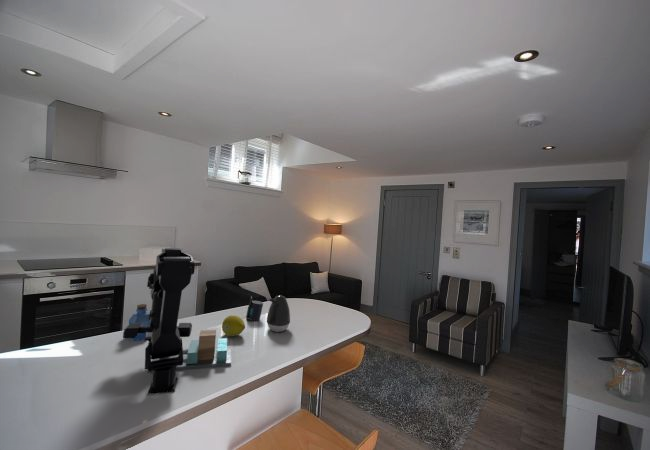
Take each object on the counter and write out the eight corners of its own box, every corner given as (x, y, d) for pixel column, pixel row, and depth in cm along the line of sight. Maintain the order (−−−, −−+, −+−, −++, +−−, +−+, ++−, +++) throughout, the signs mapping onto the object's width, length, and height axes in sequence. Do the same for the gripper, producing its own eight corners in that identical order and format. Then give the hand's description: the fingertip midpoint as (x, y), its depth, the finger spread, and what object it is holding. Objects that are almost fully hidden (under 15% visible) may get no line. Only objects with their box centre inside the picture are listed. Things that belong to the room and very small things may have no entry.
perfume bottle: (145, 332, 118) (147, 302, 118) (152, 336, 114) (153, 305, 114) (128, 336, 114) (129, 304, 113) (133, 341, 110) (135, 308, 109)
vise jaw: (158, 366, 91) (158, 354, 91) (164, 351, 101) (165, 341, 100) (197, 363, 95) (197, 352, 94) (199, 349, 104) (200, 339, 104)
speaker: (242, 320, 139) (246, 298, 139) (246, 316, 144) (249, 295, 145) (258, 323, 138) (262, 301, 138) (261, 319, 144) (265, 298, 144)
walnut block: (214, 359, 98) (215, 335, 98) (197, 360, 97) (199, 335, 97) (214, 352, 103) (216, 329, 103) (199, 353, 102) (200, 330, 101)
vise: (147, 372, 89) (148, 357, 89) (156, 354, 101) (157, 340, 101) (230, 365, 97) (231, 351, 97) (230, 349, 108) (231, 336, 108)
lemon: (216, 334, 121) (218, 314, 121) (233, 329, 127) (234, 311, 127) (231, 342, 114) (233, 321, 114) (248, 337, 120) (250, 317, 120)
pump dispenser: (261, 328, 131) (263, 294, 131) (281, 324, 138) (283, 291, 138) (273, 336, 123) (276, 299, 123) (294, 331, 130) (296, 296, 130)
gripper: (195, 301, 106) (191, 345, 106) (135, 300, 100) (130, 347, 100) (192, 311, 95) (187, 359, 95) (125, 311, 89) (119, 362, 89)
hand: (156, 356), depth 95 cm, fingers closed
